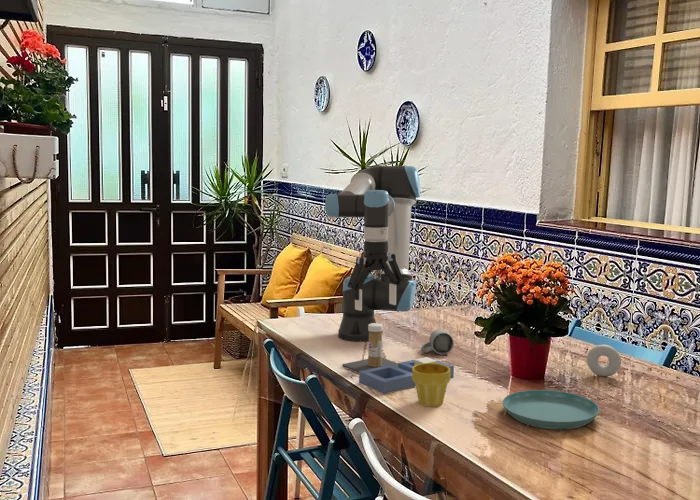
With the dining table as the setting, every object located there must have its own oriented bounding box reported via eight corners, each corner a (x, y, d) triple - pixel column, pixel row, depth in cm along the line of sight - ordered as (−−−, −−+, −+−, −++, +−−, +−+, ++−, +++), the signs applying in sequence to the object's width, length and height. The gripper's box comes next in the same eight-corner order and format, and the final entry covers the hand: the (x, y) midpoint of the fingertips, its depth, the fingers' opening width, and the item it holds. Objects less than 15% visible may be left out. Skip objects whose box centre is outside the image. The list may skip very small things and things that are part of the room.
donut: (620, 377, 217) (622, 345, 216) (619, 380, 214) (621, 348, 213) (586, 372, 222) (588, 341, 220) (585, 375, 218) (586, 344, 217)
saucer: (552, 395, 201) (552, 384, 201) (619, 424, 180) (620, 411, 180) (483, 409, 190) (483, 397, 190) (546, 441, 169) (547, 427, 169)
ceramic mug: (448, 348, 250) (448, 326, 249) (454, 354, 242) (454, 332, 241) (419, 349, 249) (418, 327, 248) (423, 355, 241) (423, 333, 240)
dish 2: (398, 374, 220) (398, 363, 219) (427, 367, 227) (427, 356, 226) (423, 384, 210) (424, 372, 210) (453, 377, 217) (453, 365, 217)
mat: (342, 366, 228) (342, 364, 227) (379, 358, 236) (379, 356, 236) (370, 378, 215) (370, 375, 215) (408, 369, 224) (408, 367, 224)
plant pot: (425, 411, 187) (425, 375, 186) (404, 399, 197) (405, 365, 195) (457, 405, 192) (458, 370, 191) (435, 394, 201) (436, 360, 200)
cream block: (414, 375, 219) (414, 359, 218) (426, 372, 222) (426, 357, 221) (424, 379, 215) (425, 363, 214) (437, 376, 218) (437, 360, 217)
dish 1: (359, 382, 211) (359, 371, 211) (390, 375, 218) (390, 364, 218) (384, 393, 201) (384, 381, 201) (416, 386, 208) (416, 374, 208)
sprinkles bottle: (365, 365, 226) (365, 324, 224) (373, 362, 229) (374, 322, 227) (376, 368, 223) (376, 326, 221) (385, 365, 226) (385, 324, 224)
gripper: (350, 244, 210) (350, 314, 213) (414, 238, 225) (413, 303, 228) (336, 242, 216) (336, 310, 219) (399, 235, 231) (398, 299, 234)
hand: (375, 307), depth 224 cm, fingers open, 13 cm apart
